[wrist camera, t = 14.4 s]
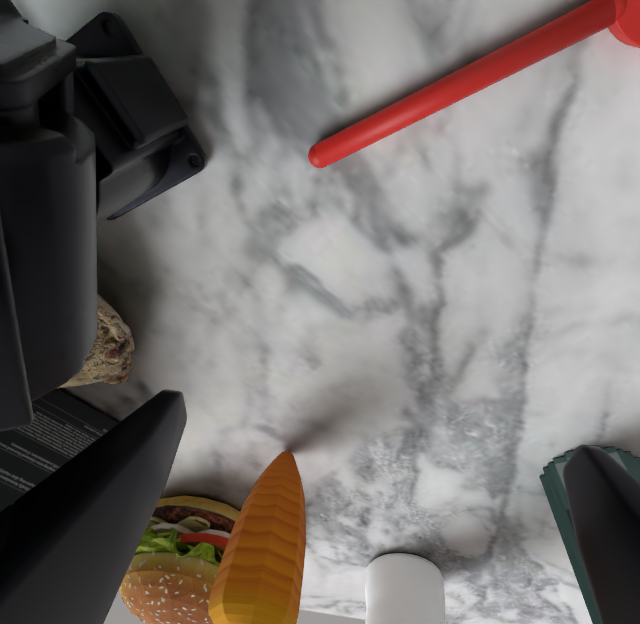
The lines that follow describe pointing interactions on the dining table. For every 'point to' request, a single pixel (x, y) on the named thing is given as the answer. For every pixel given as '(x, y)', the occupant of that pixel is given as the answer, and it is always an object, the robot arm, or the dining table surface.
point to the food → (178, 561)
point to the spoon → (485, 74)
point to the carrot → (264, 552)
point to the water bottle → (404, 591)
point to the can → (563, 518)
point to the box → (46, 442)
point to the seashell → (107, 351)
